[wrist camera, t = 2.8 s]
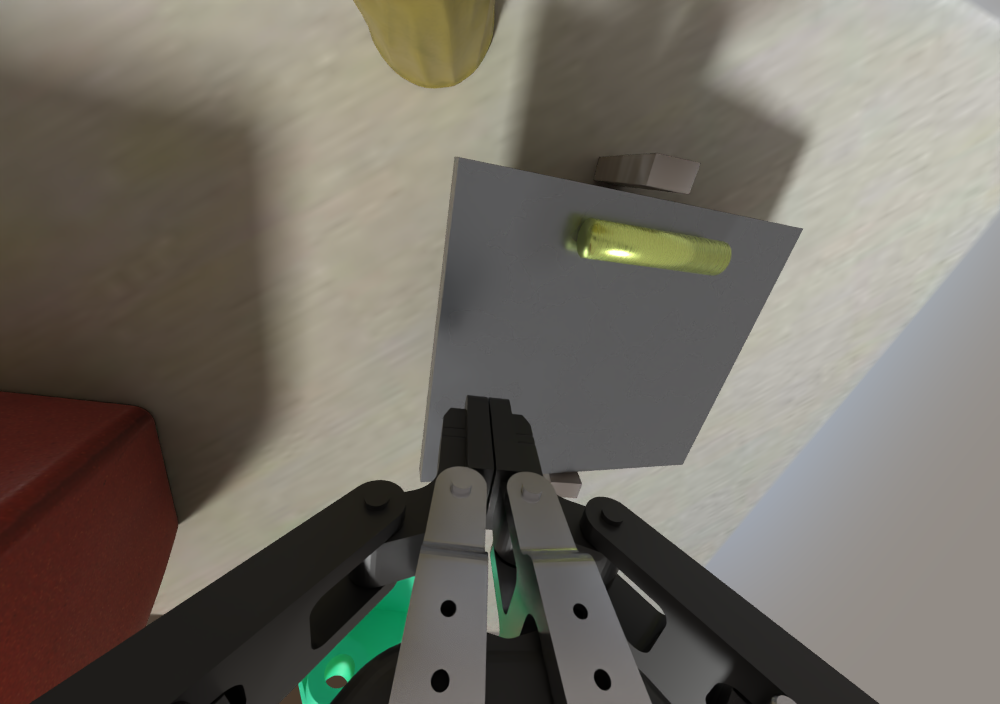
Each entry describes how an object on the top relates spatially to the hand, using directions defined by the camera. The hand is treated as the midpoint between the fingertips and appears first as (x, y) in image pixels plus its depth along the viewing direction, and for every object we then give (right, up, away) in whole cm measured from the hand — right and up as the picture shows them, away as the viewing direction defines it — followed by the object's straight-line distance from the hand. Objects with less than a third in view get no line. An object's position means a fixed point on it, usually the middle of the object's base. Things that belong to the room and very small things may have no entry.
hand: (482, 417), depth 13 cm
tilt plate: (+6, +2, +7) cm, 10 cm away
